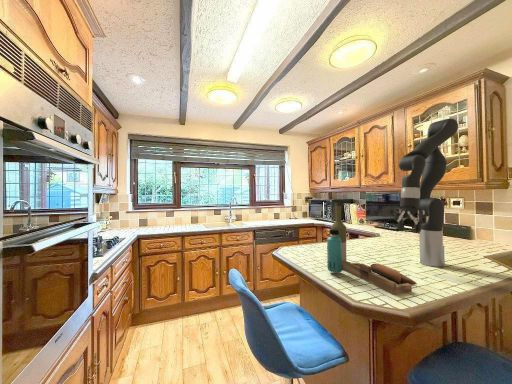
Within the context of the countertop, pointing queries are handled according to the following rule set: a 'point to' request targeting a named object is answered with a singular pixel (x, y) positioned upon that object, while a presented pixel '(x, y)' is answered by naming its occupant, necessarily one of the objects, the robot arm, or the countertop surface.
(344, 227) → the bottle
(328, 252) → the beverage bottle
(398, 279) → the sunglasses case
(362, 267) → the display cradle
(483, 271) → the countertop surface
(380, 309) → the countertop surface
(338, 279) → the countertop surface
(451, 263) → the countertop surface
